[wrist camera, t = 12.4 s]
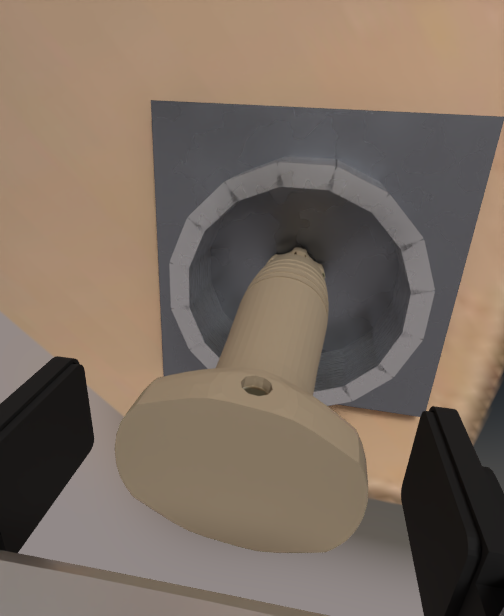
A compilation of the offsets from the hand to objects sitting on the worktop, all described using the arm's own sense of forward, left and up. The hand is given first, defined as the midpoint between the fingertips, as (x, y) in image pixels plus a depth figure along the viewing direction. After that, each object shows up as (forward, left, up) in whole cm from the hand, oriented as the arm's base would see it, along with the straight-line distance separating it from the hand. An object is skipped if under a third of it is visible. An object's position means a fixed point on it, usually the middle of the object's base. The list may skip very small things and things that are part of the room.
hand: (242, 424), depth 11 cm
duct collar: (+1, 0, -15) cm, 15 cm away
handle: (0, 0, -14) cm, 14 cm away
